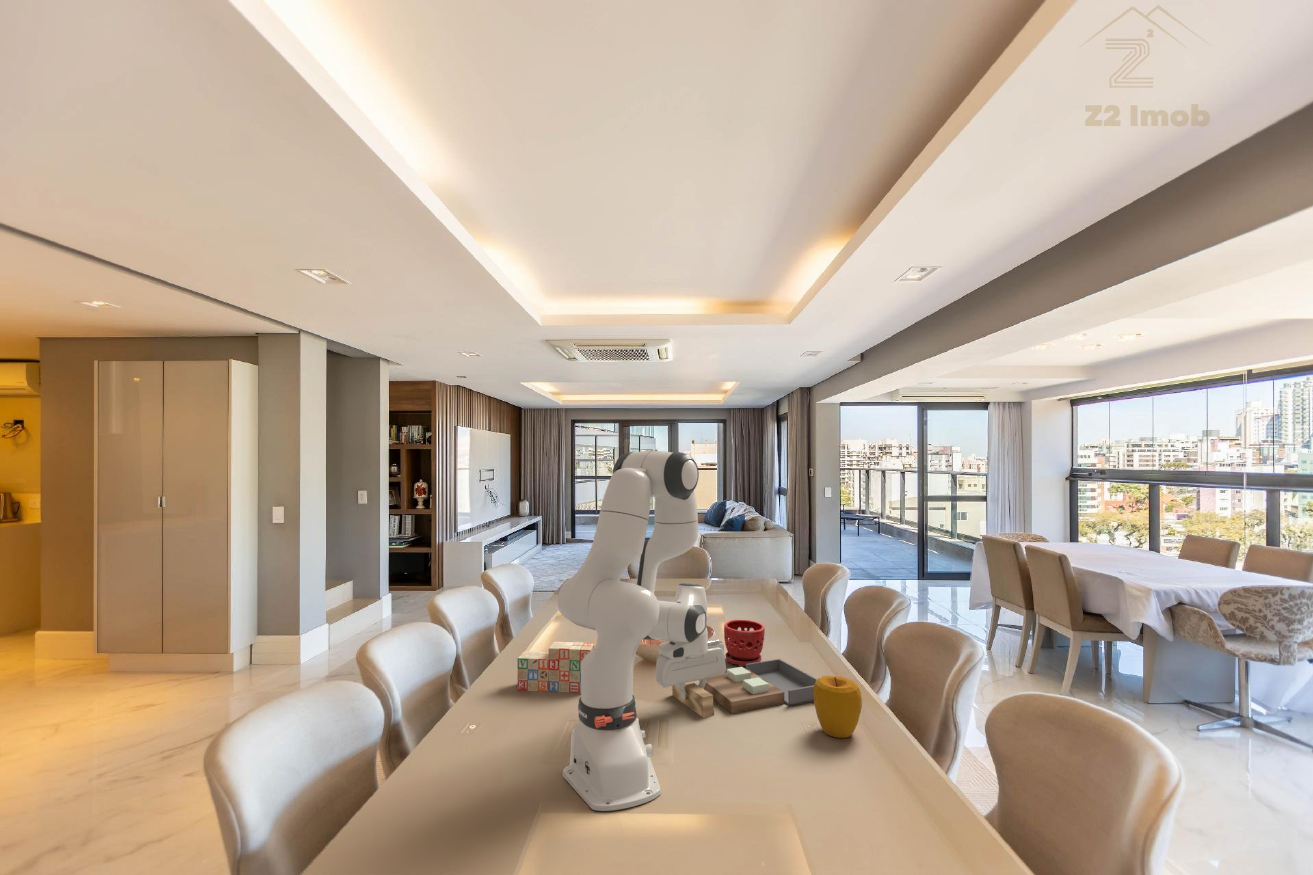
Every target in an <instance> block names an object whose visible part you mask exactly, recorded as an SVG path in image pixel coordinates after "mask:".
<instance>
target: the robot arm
mask: <svg viewBox="0 0 1313 875" xmlns="http://www.w3.org/2000/svg"><path fill="white" fill-rule="evenodd" d="M612 470H613V471H612V475H611V477H610V479H609V481H608V484H607V486H606V489H605V492H604V495H603V497H602V498H603V499H602V501H601V506H600V509H599V515H598V519H597V520H598V521H597V524H596V529H595V533H594V536H593V541H592V544H591V546H590V549H589V552H588V553H587V556H586V558H585V560H584V561H583V563H582V565H581V566H580V568H579V569H578V570H577V572H575V574H574V575H573V576H571V577H570V578H568V579H567V580H566V581H565V582H564V583H563V584H562V586H561V588H560V590H559V592H558V595H557V608H558V611H559V613H560V614H561V616H563V617H564V618H565V619H567V621H570V622H571V623H572V624H573V625H576V626H578V627H582V628H585V629H589V630H592V631H596V634H597V640H596V643H595V649H594V650H593V651H591V652H590V653H588V654H587V655H586V656H585V657H584V659H583V661H582V663H581V693H580V696H579V698H578V706H577V711H578V722H577V724H575V726H574V728H572V730H571V736H570V737H571V738H570V753H569V754H570V755H569V756H570V757H569V764H567V765H566V766H565V767H563V769H562V777H563V779H565V781H566V782H568V784H569V785H570V786H571V788H573V790H574V791H575V792H576V793H577V794H578V795H579V796H580V797H581V799H582V800H583V801H584V802H585V803H586V804H587V806H588V807H590V809H592V810H594V811H600V812H606V811H607V812H610V811H618V810H624V809H628V808H632V807H633V808H634V807H636V806H639V805H642V804H645V803H648V802H650V801H653V800H654V799H657V798H658V797H659V796H660V795H661V793H662V790H661V789H662V788H661V786H660V783H659V779H658V777H657V774H656V771H655V768H654V765H653V761H652V759H651V757H653V754H654V751H653V750H654V749H653V744H651V743H648V744H645V741H644V738H645V739H646V731H645V730H642V729H641V728H640V727H641V726H640V723H639V721H640V720H639V718H638V717H637V716H638V715H637V704H636V699H635V695H634V692H633V690H634V687H633V686H634V663H635V657H636V653H637V650H638V649H639V647H640V644H641V643H642V641H643V640H645V641H649V640H650V641H654V640H657V641H663V642H661V643H659V645H658V647H657V650H658V653H659V655H658V656H657V659H656V662H655V663H656V664H655V682H656V683H657V684H658V685H659V686H661V687H662V688H669V687H672V686H674V685H677V686H678V688H679V690H680V691H681V699H683V700H686V699H689V692H687V691H686V690H684V688H683V687H685V683H688V682H696V681H699V682H698V684H697V685H698V686H700V687H701V688H703V689H704V687H705V685H706V683H707V678H711V677H716V676H720V675H724V674H726V672H727V665H726V656H725V643H723V641H721V640H719V639H714V640H709V635H708V633H709V632H708V629H707V620H708V601H707V594H706V593H707V592H706V588H705V587H704V586H703V585H702V584H700V583H699V584H697V583H680V584H677V586H676V589H675V597H674V598H675V599H674V600H675V601H666V600H659V599H658V598H657V596H656V595H655V589H656V584H657V583H656V582H657V574H658V568H659V566H660V565H661V564H662V563H663V562H666V561H668V560H670V559H673V558H676V557H679V556H681V555H683V554H685V553H687V552H688V551H690V550H691V549H692V548H693V547H694V546H695V544H696V543H697V540H698V536H699V535H698V534H699V516H698V515H699V514H698V504H697V498H696V493H695V489H696V488H697V485H698V481H699V473H700V472H699V467H698V465H697V463H696V461H695V459H694V458H693V456H692V455H690V454H688V453H685V452H680V451H674V452H671V451H659V450H653V449H652V450H642V451H633V450H632V451H628V452H626V453H625V452H624V453H623V454H621V455H620V456H619V457H618V458H617V460H616V461H615V464H614V466H613V469H612ZM652 497H653V498H654V509H653V510H654V511H653V513H654V515H653V516H654V519H653V520H654V525H653V530H652V531H653V532H652V534H651V536H650V538H648V539H646V535H647V530H648V525H649V518H650V513H651V502H652V501H651V500H652ZM639 559H640V560H639ZM638 560H639V566H638V573H637V579H636V580H637V582H636V583H633V582H628V581H621V579H622V576H623V574H624V572H625V571H626V569H627V568H628V567H629V566H630V565H631V564H632V563H635V562H636V561H638Z"/></svg>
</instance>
